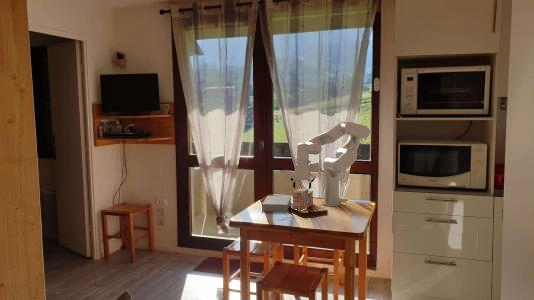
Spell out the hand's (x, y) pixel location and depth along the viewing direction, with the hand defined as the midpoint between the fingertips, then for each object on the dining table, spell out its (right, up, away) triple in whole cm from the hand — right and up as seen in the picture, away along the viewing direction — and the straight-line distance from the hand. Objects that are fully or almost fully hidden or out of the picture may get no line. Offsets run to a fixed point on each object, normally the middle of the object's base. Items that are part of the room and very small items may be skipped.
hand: (302, 188), depth 276 cm
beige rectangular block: (+1, -13, +2) cm, 13 cm away
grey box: (-16, -13, +4) cm, 21 cm away
